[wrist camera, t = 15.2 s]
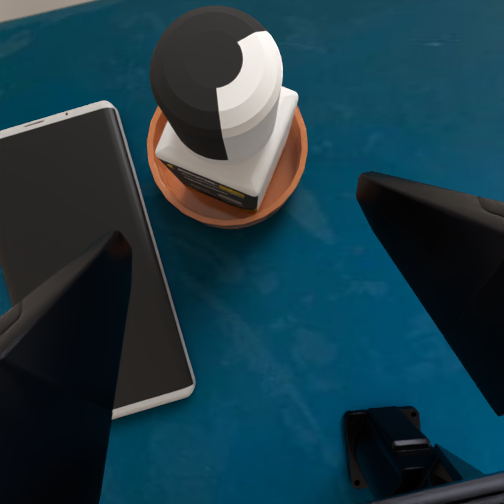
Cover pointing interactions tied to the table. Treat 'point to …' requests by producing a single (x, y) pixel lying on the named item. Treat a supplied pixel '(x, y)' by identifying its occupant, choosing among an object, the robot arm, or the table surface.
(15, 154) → the smartphone
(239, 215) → the dish
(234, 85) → the medicine bottle
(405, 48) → the table surface
